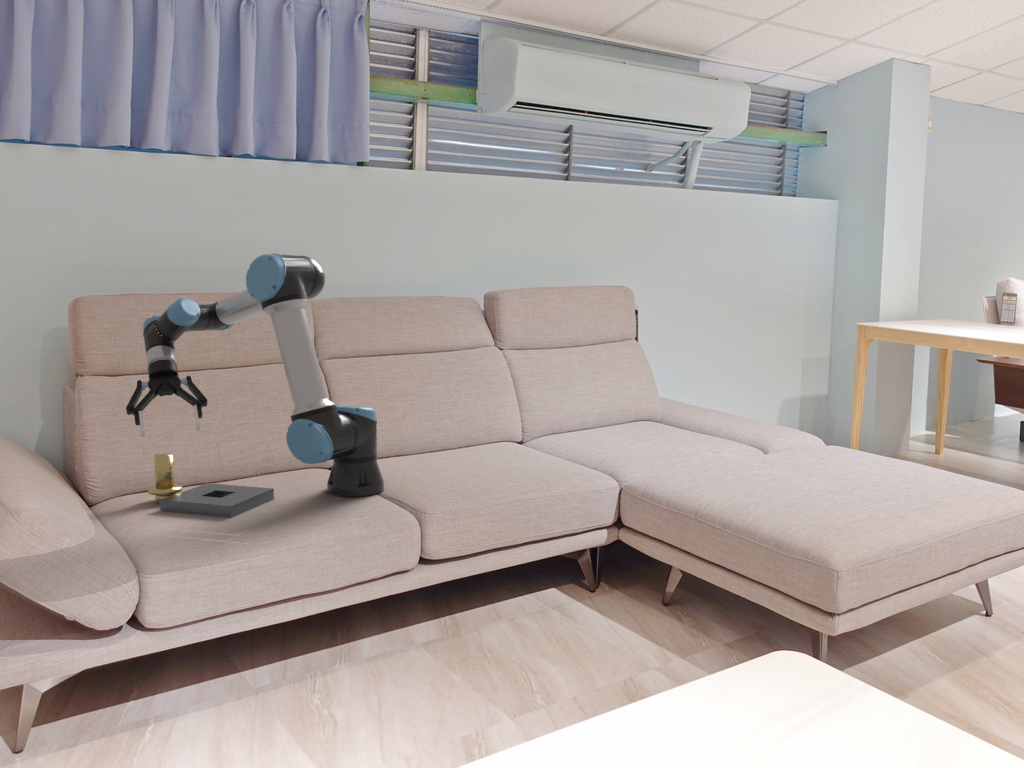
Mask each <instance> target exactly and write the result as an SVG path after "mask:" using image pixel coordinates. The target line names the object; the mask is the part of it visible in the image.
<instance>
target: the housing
mask: <svg viewBox="0 0 1024 768" xmlns="http://www.w3.org/2000/svg"><path fill="white" fill-rule="evenodd" d="M274 489H275V488H273V487H272V488H271V487H260V486H259V487H258V486H247V485H246V486H245V485H235V484H222V483H209V482H207V483H204V484H202V485H201V484H200V485H198V486H194V487H192V488H190V489H187V490H182V491H181V492H179V493H176V494H175V495H172V496H169V497H166V498H164V499H161V500H160V504H159V509H160V510H159V511H160V512H162V513H163V512H164V513H165V512H166V513H174V514H185V515H186V514H187V515H197V516H206V517H208V516H209V517H219V518H228V519H232V518H234V517H237V516H239V515H241V514H243V513H246V512H248V511H251V510H253V509H255V508H258V507H259V506H260V507H261V506H262V505H264V504H266V503H269V502H272V501H274V500H275V491H274Z"/></svg>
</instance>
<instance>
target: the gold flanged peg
mask: <svg viewBox="0 0 1024 768" xmlns="http://www.w3.org/2000/svg"><path fill="white" fill-rule="evenodd" d="M174 461H175V460H174V454H173V453H171V452H165V453H156V454H154V480H155V485H151V486H149V487H148V488H147V494H148V495H152V496H155V497H154V499H155V503H156V504H159V505H160V500H161V499H164V498H166V497H169V496H172V495H175V494H178V493H181V492H183V485H181V484H179V483H175V467H174V466H175V464H174V463H175V462H174Z"/></svg>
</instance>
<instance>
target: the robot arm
mask: <svg viewBox="0 0 1024 768" xmlns="http://www.w3.org/2000/svg"><path fill="white" fill-rule="evenodd" d="M325 283H326V275H325V272H324V269H323V267H322V266H321V265H320V263H319V262H318V261H316V260H315V259H314V258H312V257H309V256H306V255H293V254H292V255H291V254H278V253H272V254H269V253H267V254H261V255H259V256H257V257H256V258H254V259H253V260H252V262H251V263H250V264H249V268H248V269H247V271H246V274H245V287H246V289H245V290H243V291H240V292H238V293H235V294H232V295H230V296H228V297H226V298H223V299H220V300H218V301H215V302H214V303H209V304H208V303H207V304H197V303H196V302H195V300H193V299H189V298H187V297H180V298H178V299H176V300H175V301H174V302H172V304H170V305H169V306H168V307H167V309H166V310H165V311H164V312H163V313H162V314H161V315H154V316H153V315H152V316H151V317H147V318H146V319H145V320H144V322H143V325H142V326H143V327H142V329H143V330H142V331H143V332H142V336H143V342H144V347H145V356H146V365H147V372H148V373H147V374H148V381H142V380H140V379H139V380H137V381H136V387H135V390H134V391H133V394H132V395H131V398H130V400H129V401H128V403H127V405H126V407H125V411H126V412H125V413H126V414H127V415H128V416H129V415H133V417H134V422H135V423H134V424H135V426H140V427H139V428H140V434H141V435H140V436H141V438H145V428H144V418H143V411H144V410H145V409H146V408H147V407H148V406H149V404H150V403H151V402H152V401H153V400H154V399H155V398H156V397H158V396H159V397H165V396H173V395H175V396H177V397H180V398H181V399H182V400H183V401H185V402H187V403H188V404H190V405H191V406H192V407H193V415H194V420H195V421H194V422H195V428H196V429H195V430H196V431H200V429H201V428H200V425H201V424H200V420H199V419H202V418H203V409H202V408H203V407H207V406H208V399H207V398H206V396H205V395H204V394H203V392H202V391H201V390H200V389H199V388H198V387H197V386H196V384H195V383H194V381H193V380H192V377H191V375H186V377H185V378H184V377H183V378H180V377H179V370H178V369H179V368H178V365H177V363H178V362H177V357H176V356H177V355H176V349H175V342H176V341H177V340H178V339H180V338H181V337H182V336H183V335H184V334H185V333H187V332H203V331H205V332H206V331H224V330H228V329H229V330H230V329H231V328H233V326H235V324H236V323H238V322H241V321H244V320H246V319H249V318H252V317H254V316H257V315H260V314H262V313H265V314H266V315H267V316H269V317H270V318H271V322H272V327H273V329H274V333H275V334H274V335H275V338H276V341H277V347H278V350H279V353H280V357H281V361H282V364H283V369H284V372H285V376H286V381H287V383H288V388H289V392H290V395H291V399H292V403H293V407H294V408H293V409H292V412H291V414H290V415H289V417H290V420H291V423H290V424H289V425H288V427H287V431H286V437H285V438H286V439H285V440H286V444H287V448H288V450H289V451H290V453H291V454H292V456H293V457H294V458H296V459H297V460H299V461H300V462H301V463H304V464H307V465H314V464H322V463H327V462H328V461H331V460H332V462H333V463H332V466H331V470H330V472H329V477H328V479H327V481H326V491H327V493H328V494H329V493H330V494H329V495H331V494H333V495H332V496H335V495H337V497H343V496H344V498H345V497H348V498H349V497H350V498H353V497H354V498H355V497H357V498H358V497H366V496H372V495H375V494H376V495H377V494H379V493H382V492H383V491H384V489H385V485H384V484H385V480H384V477H383V476H382V473H381V470H380V467H379V463H378V455H377V453H378V447H377V446H378V444H377V443H378V442H377V441H378V439H377V430H378V427H377V424H378V421H377V412H376V410H375V409H374V408H372V407H369V406H358V405H355V406H354V405H337V404H336V403H335V402H333V401H331V400H330V399H329V398H328V394H327V389H326V387H325V382H324V379H323V374H322V371H321V367H320V364H319V360H318V356H317V351H316V349H315V348H316V347H315V343H314V339H313V336H312V333H311V328H310V325H309V321H308V317H307V314H306V307H307V306H308V304H309V302H310V301H309V300H311V299H314V298H316V297H317V296H318V295H319V294H321V292H322V291H323V289H324V288H325ZM155 326H156V327H155ZM156 329H157V330H156ZM158 332H159V333H158ZM161 335H162V336H161ZM181 385H184V386H185V387H187V388H188V390H189V391H190V392H191V394H190V393H189V392H187V391H186V390H185V389H183V387H182V386H181ZM146 388H148V389H149V391H148V392H147V393H146V395H144V397H142V399H141V396H142V393H143V391H144V390H146ZM139 399H141V400H140V401H139ZM138 401H139V402H138ZM137 403H138V404H137Z"/></svg>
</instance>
